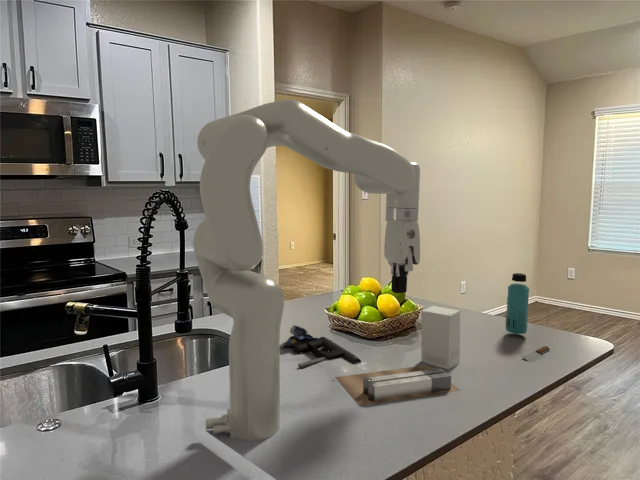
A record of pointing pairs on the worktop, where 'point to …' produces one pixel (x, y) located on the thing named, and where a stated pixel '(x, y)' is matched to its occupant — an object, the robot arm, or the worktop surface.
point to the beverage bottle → (517, 305)
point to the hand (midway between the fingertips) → (398, 291)
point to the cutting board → (355, 382)
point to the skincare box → (440, 336)
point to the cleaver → (536, 354)
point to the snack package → (298, 337)
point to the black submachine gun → (318, 345)
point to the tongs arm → (398, 377)
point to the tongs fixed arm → (409, 386)
